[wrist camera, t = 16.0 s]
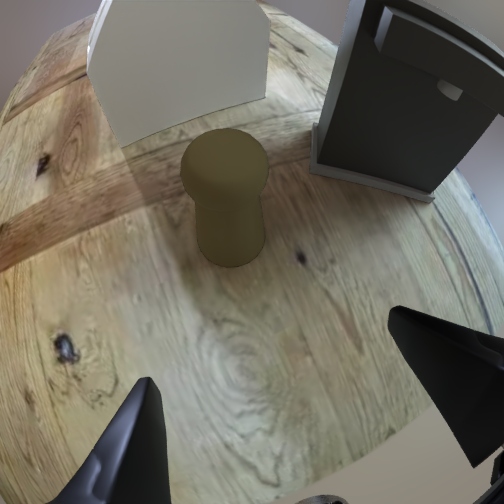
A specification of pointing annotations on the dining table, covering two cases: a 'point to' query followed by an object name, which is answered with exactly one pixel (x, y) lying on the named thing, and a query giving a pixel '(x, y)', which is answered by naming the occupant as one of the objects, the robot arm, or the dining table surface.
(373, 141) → the coffee maker
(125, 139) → the white house shaped block
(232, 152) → the cork
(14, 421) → the dining table surface
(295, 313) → the dining table surface
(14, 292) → the dining table surface
